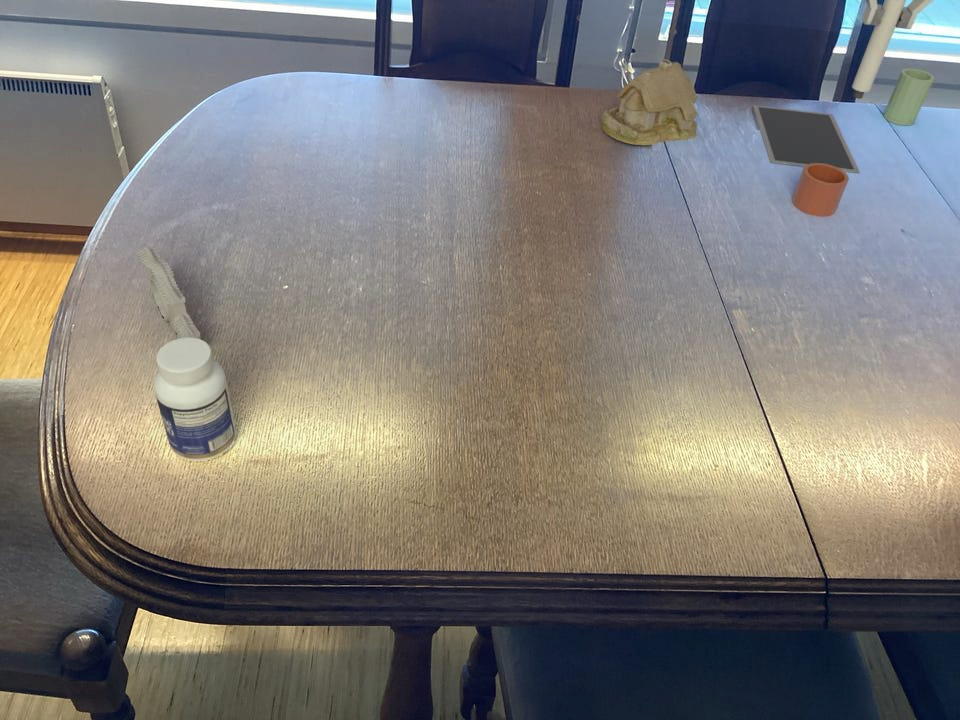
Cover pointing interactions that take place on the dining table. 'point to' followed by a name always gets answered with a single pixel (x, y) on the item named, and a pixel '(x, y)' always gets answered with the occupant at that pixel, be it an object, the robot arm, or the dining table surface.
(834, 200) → the cup
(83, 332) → the dining table surface
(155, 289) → the beige ridged long part
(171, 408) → the pill bottle
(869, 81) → the stylus
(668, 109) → the ceramic model
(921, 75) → the pen cup
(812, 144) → the tablet
